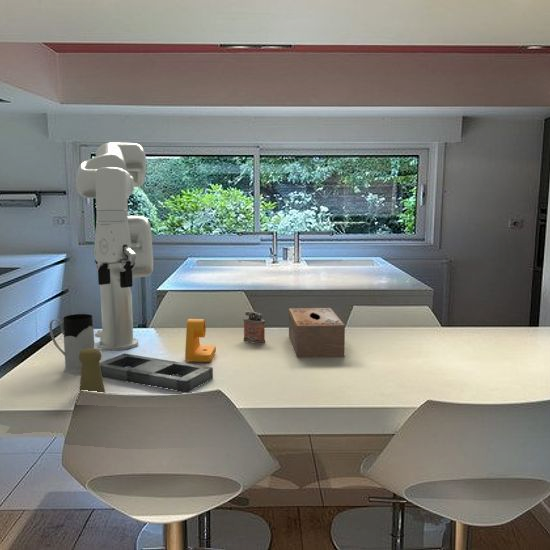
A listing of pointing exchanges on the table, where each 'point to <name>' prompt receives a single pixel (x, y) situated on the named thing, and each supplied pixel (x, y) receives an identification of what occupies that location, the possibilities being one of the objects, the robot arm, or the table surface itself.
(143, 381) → the tray
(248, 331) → the lighter
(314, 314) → the tissue box cover
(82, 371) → the olive tall tapered piece
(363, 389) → the table surface
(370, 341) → the table surface
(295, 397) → the table surface
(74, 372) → the grey mug
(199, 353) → the bracket
